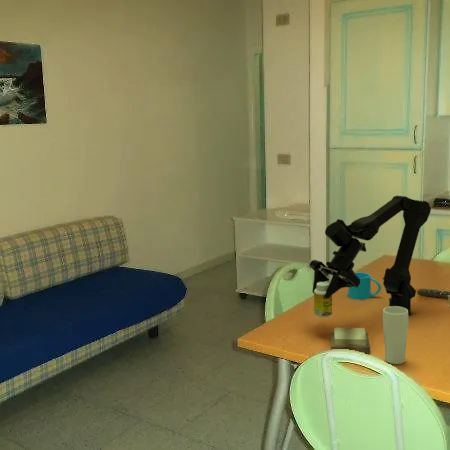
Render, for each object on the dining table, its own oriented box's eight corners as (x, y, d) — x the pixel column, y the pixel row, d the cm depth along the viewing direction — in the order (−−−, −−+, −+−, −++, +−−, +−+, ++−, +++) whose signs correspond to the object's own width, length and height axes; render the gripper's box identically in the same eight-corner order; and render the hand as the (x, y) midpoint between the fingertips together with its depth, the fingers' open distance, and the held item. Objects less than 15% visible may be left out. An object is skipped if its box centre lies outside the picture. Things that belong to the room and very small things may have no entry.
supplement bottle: (323, 319, 180) (323, 287, 177) (310, 314, 184) (310, 283, 182) (336, 314, 183) (335, 283, 181) (323, 310, 187) (322, 279, 185)
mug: (346, 298, 218) (345, 277, 217) (351, 292, 225) (351, 271, 224) (378, 301, 213) (378, 280, 211) (382, 294, 220) (383, 274, 219)
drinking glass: (379, 357, 166) (379, 306, 163) (402, 355, 167) (402, 305, 164) (387, 367, 160) (387, 315, 157) (411, 365, 160) (412, 313, 157)
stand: (367, 339, 179) (367, 326, 179) (370, 353, 169) (370, 340, 168) (331, 338, 181) (331, 326, 181) (331, 353, 171) (331, 340, 170)
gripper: (381, 275, 180) (354, 317, 177) (340, 263, 196) (315, 301, 193) (361, 254, 175) (333, 297, 172) (321, 244, 191) (295, 283, 188)
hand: (319, 295), depth 181 cm, fingers closed on supplement bottle, 5 cm apart
